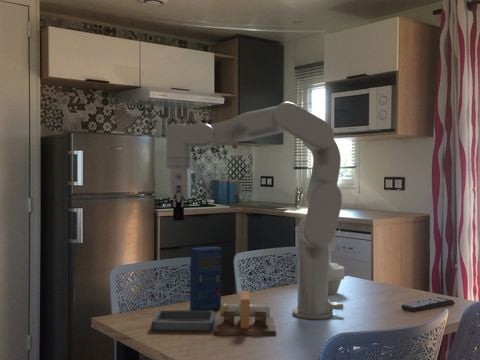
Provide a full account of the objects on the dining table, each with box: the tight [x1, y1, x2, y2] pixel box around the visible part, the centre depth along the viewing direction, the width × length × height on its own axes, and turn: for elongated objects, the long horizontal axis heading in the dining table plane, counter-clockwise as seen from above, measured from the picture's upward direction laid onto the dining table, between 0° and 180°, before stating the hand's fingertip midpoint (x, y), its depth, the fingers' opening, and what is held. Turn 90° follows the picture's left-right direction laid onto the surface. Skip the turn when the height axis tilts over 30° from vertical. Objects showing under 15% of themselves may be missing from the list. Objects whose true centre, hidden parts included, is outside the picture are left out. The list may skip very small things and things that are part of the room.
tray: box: [151, 309, 216, 333], centre depth 158 cm, size 17×13×3 cm
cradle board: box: [213, 310, 277, 336], centre depth 156 cm, size 17×14×6 cm
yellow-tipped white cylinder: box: [219, 303, 271, 317], centre depth 156 cm, size 14×4×4 cm, turn 90°
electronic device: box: [189, 245, 222, 311], centre depth 176 cm, size 10×5×20 cm, turn 121°
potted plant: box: [328, 228, 346, 296], centre depth 202 cm, size 13×12×25 cm
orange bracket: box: [240, 290, 251, 328], centre depth 156 cm, size 2×10×8 cm, turn 0°
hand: (178, 218), depth 170 cm, fingers open, 9 cm apart
